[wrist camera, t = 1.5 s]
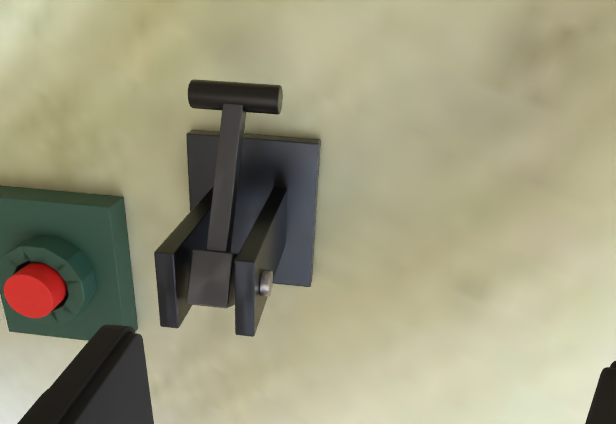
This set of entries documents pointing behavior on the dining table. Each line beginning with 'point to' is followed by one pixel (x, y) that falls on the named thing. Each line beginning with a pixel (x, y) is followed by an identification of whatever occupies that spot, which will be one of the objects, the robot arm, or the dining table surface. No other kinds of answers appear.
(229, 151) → the switch lever
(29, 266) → the red push button
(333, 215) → the dining table surface
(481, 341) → the dining table surface
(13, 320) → the button block
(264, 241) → the switch bracket
